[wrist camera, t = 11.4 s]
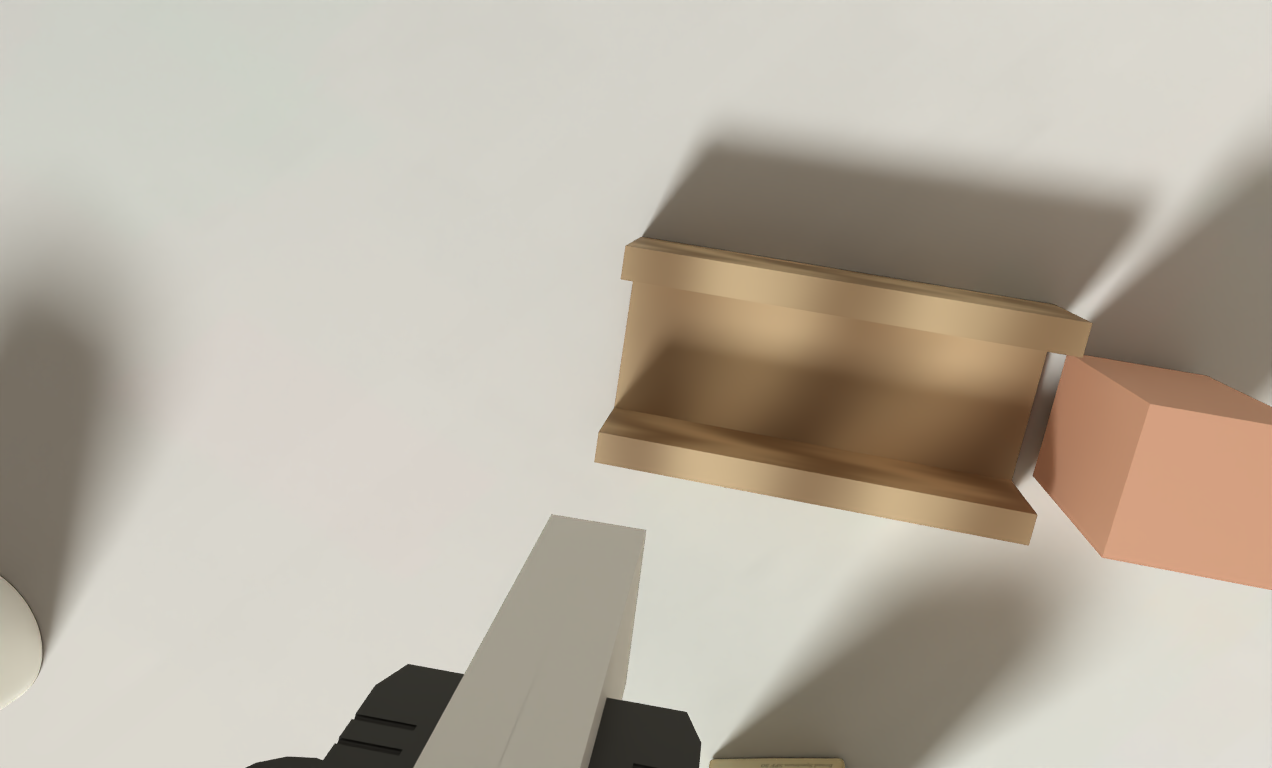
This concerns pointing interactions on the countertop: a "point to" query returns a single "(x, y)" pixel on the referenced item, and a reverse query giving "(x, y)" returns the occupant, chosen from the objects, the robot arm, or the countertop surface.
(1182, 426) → the block
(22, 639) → the cup
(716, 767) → the skincare box
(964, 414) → the chute
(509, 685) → the robot arm
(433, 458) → the countertop surface
